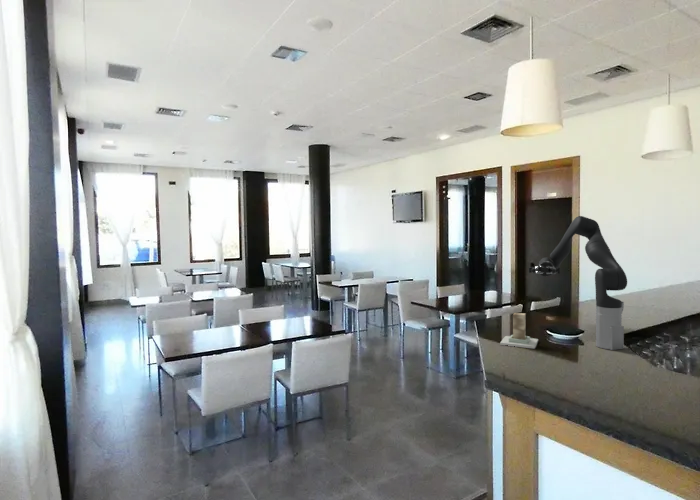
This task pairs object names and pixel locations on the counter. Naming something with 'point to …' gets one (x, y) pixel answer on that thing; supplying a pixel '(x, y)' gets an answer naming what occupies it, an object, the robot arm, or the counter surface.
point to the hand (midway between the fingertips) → (543, 271)
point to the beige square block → (519, 326)
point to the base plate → (519, 342)
